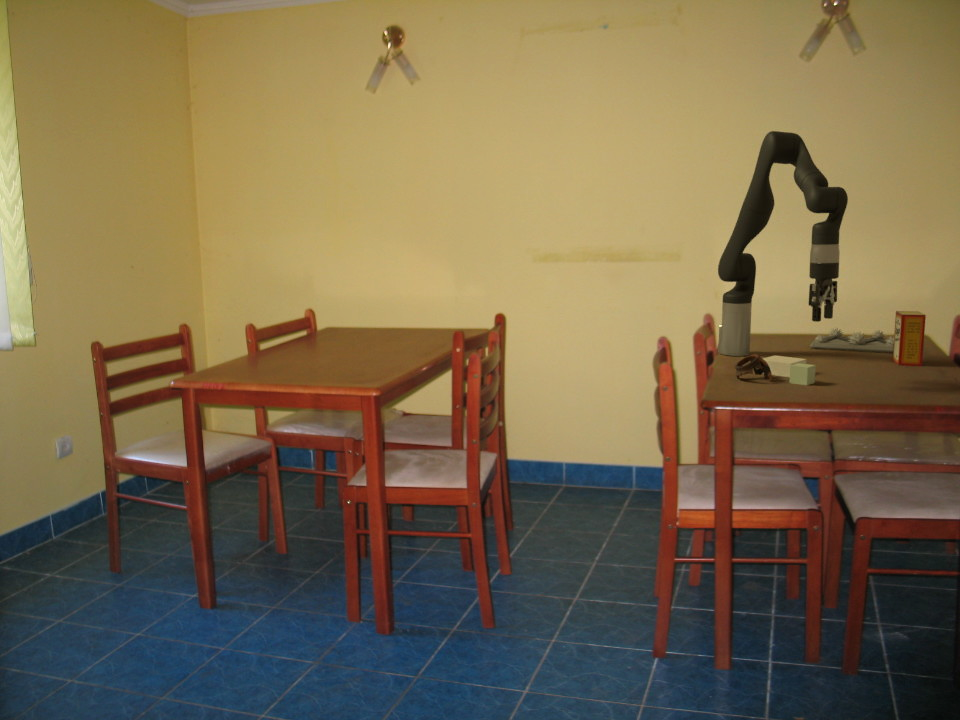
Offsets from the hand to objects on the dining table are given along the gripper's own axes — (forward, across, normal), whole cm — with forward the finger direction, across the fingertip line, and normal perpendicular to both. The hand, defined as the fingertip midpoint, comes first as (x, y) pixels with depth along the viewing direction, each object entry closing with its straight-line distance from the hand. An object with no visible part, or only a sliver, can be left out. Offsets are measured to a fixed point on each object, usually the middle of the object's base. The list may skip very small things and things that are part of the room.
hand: (822, 319), depth 248 cm
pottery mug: (+17, +8, -16) cm, 25 cm away
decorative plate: (+17, -68, -13) cm, 72 cm away
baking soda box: (+17, -45, +10) cm, 49 cm away
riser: (+17, -6, -14) cm, 23 cm away
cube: (+17, +4, -3) cm, 18 cm away
